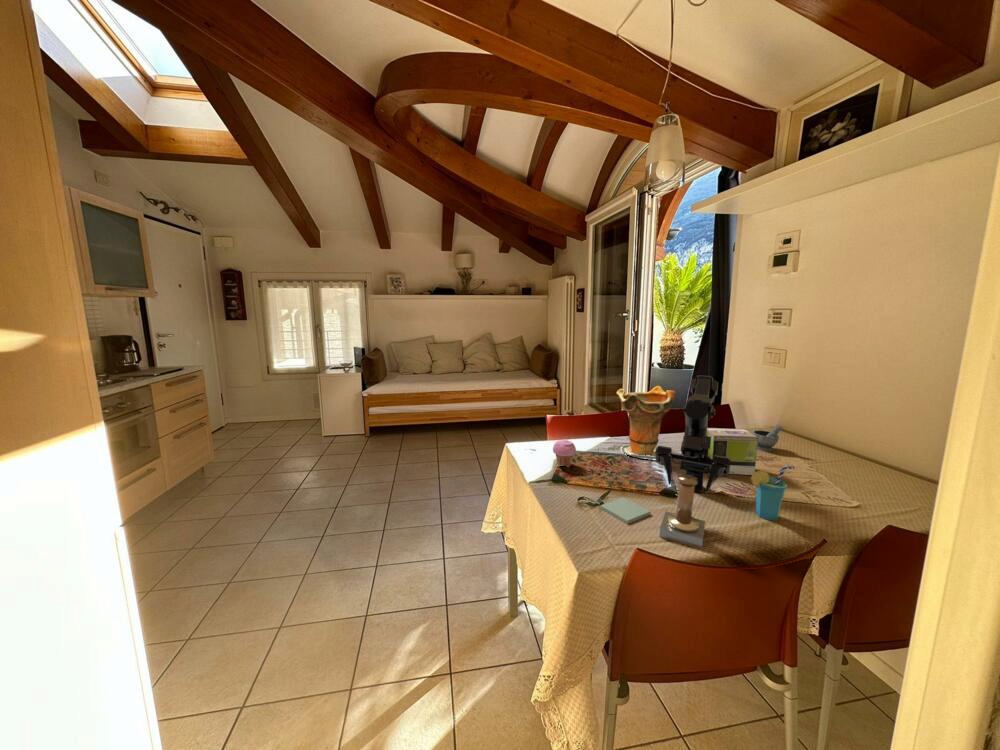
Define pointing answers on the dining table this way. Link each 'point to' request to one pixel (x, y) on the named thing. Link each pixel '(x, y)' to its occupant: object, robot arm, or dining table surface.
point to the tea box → (734, 448)
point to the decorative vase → (645, 418)
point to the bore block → (682, 533)
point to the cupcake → (564, 452)
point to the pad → (625, 510)
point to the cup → (769, 493)
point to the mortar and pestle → (767, 438)
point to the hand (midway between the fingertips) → (687, 487)
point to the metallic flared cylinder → (685, 505)
